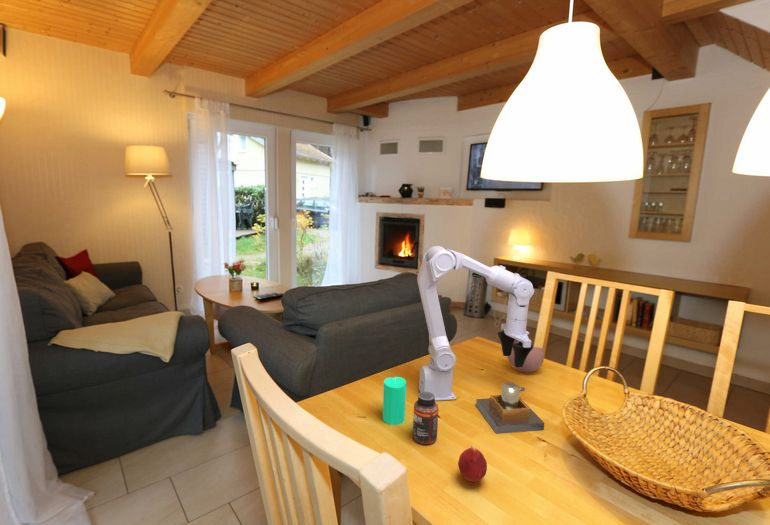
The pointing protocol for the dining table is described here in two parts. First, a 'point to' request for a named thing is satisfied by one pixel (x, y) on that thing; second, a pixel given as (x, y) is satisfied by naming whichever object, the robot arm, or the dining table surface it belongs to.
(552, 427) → the dining table surface
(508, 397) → the spout can
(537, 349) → the mortar and pestle
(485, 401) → the wooden socket on base
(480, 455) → the onion
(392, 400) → the candle
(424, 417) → the supplement bottle
